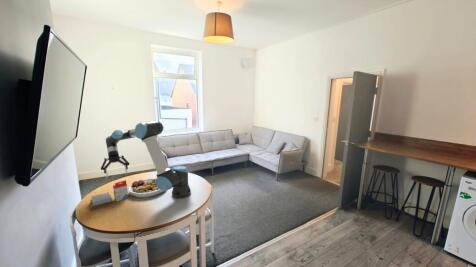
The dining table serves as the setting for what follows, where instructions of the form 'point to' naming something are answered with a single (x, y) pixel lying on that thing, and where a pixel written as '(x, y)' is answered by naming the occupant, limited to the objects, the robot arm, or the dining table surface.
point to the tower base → (101, 204)
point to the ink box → (120, 190)
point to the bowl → (144, 188)
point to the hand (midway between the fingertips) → (117, 174)
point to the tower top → (101, 198)
